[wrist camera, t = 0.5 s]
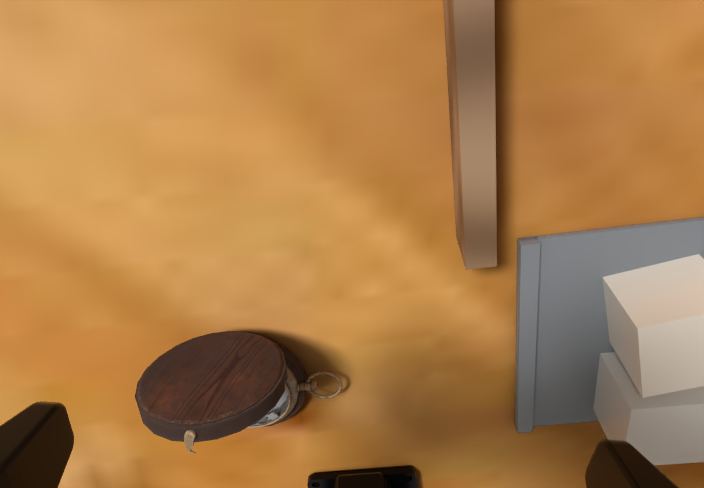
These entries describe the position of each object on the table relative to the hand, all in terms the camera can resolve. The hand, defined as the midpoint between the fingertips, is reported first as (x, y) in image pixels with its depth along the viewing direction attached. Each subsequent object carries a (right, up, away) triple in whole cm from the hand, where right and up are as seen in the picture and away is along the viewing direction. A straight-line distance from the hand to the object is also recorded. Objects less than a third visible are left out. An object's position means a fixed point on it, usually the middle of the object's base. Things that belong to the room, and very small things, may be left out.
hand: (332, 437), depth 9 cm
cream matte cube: (+15, -4, +17) cm, 23 cm away
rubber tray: (+14, -1, +16) cm, 22 cm away
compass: (-4, -3, +18) cm, 19 cm away
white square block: (+14, +1, +15) cm, 20 cm away
